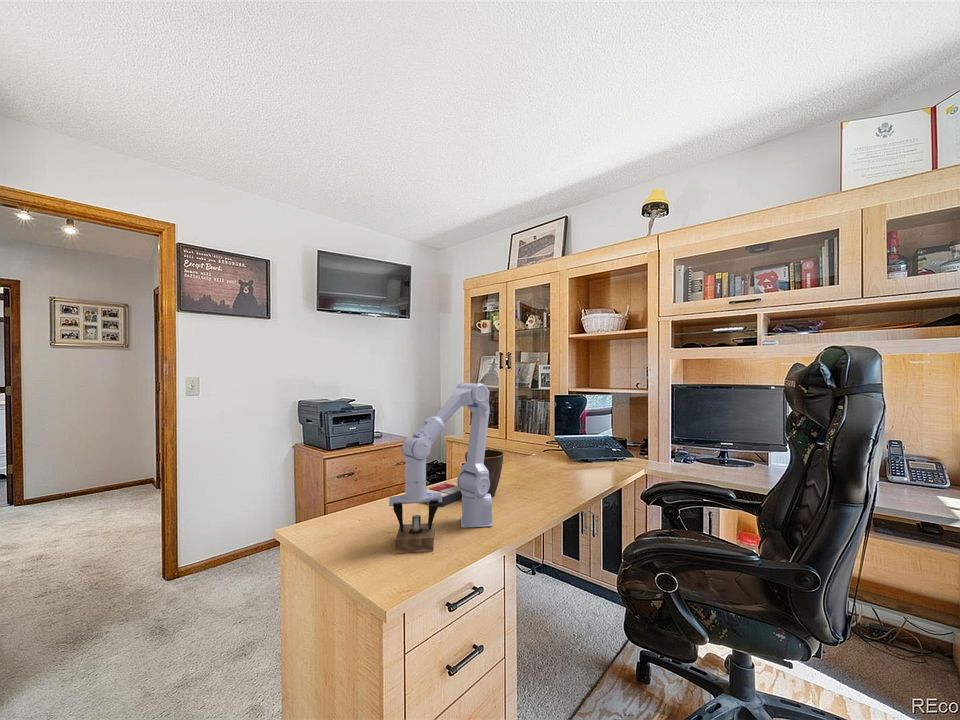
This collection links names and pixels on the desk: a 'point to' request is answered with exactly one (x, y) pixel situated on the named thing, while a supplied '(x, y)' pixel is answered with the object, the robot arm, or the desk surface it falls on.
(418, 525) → the pin
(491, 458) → the plant pot
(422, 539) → the bore block
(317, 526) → the desk surface
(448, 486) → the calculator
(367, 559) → the desk surface
